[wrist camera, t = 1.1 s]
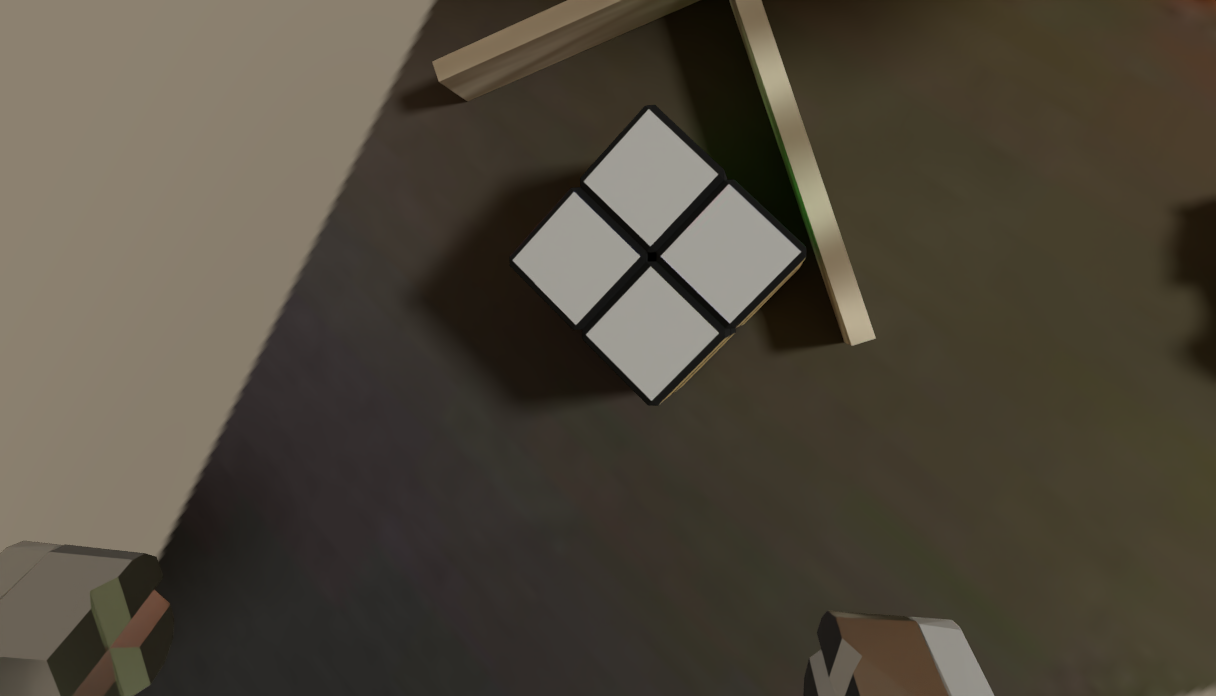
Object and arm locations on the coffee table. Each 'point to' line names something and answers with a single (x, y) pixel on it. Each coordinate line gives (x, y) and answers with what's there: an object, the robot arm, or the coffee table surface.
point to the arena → (621, 3)
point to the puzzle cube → (657, 256)
